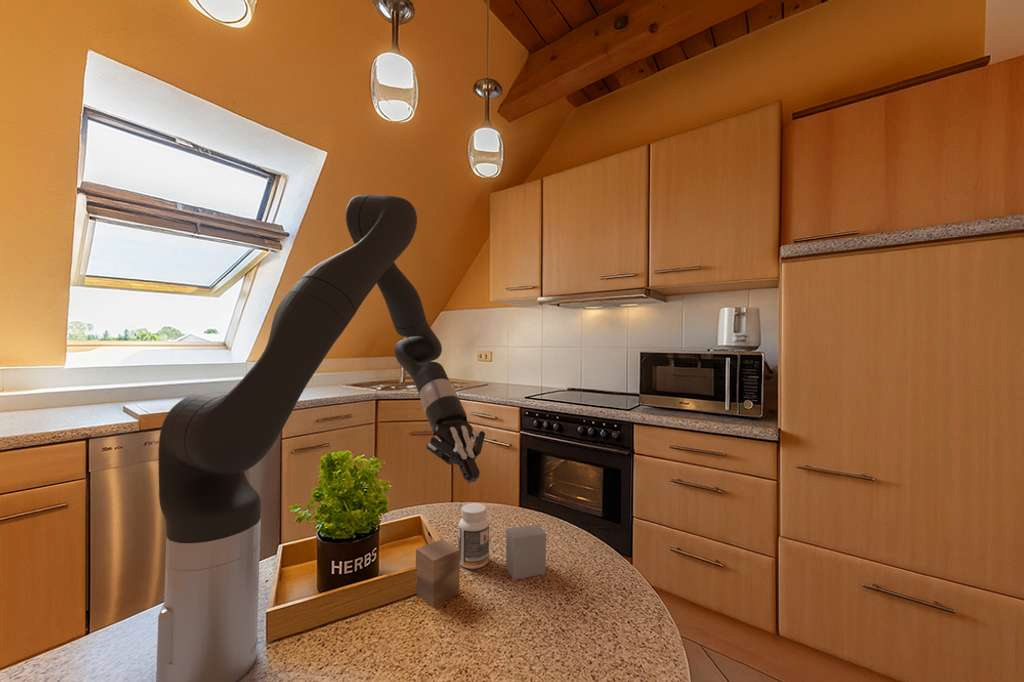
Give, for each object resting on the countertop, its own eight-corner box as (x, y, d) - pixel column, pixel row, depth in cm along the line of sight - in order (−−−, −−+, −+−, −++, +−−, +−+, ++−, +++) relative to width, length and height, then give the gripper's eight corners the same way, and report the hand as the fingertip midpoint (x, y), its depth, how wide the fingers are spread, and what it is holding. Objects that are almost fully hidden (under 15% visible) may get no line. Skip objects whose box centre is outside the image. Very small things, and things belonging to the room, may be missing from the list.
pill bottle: (494, 559, 75) (495, 505, 75) (476, 573, 70) (477, 516, 71) (470, 551, 78) (471, 499, 78) (451, 564, 73) (452, 509, 74)
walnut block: (432, 607, 61) (433, 560, 61) (415, 592, 65) (416, 548, 65) (459, 593, 65) (459, 549, 65) (441, 580, 68) (441, 538, 68)
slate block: (513, 579, 69) (514, 538, 69) (505, 567, 73) (506, 528, 73) (545, 573, 71) (546, 533, 71) (536, 562, 75) (537, 524, 75)
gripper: (419, 395, 78) (451, 475, 68) (475, 392, 87) (511, 463, 77) (406, 419, 82) (434, 497, 72) (461, 414, 90) (493, 483, 81)
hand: (474, 479), depth 75 cm, fingers closed
